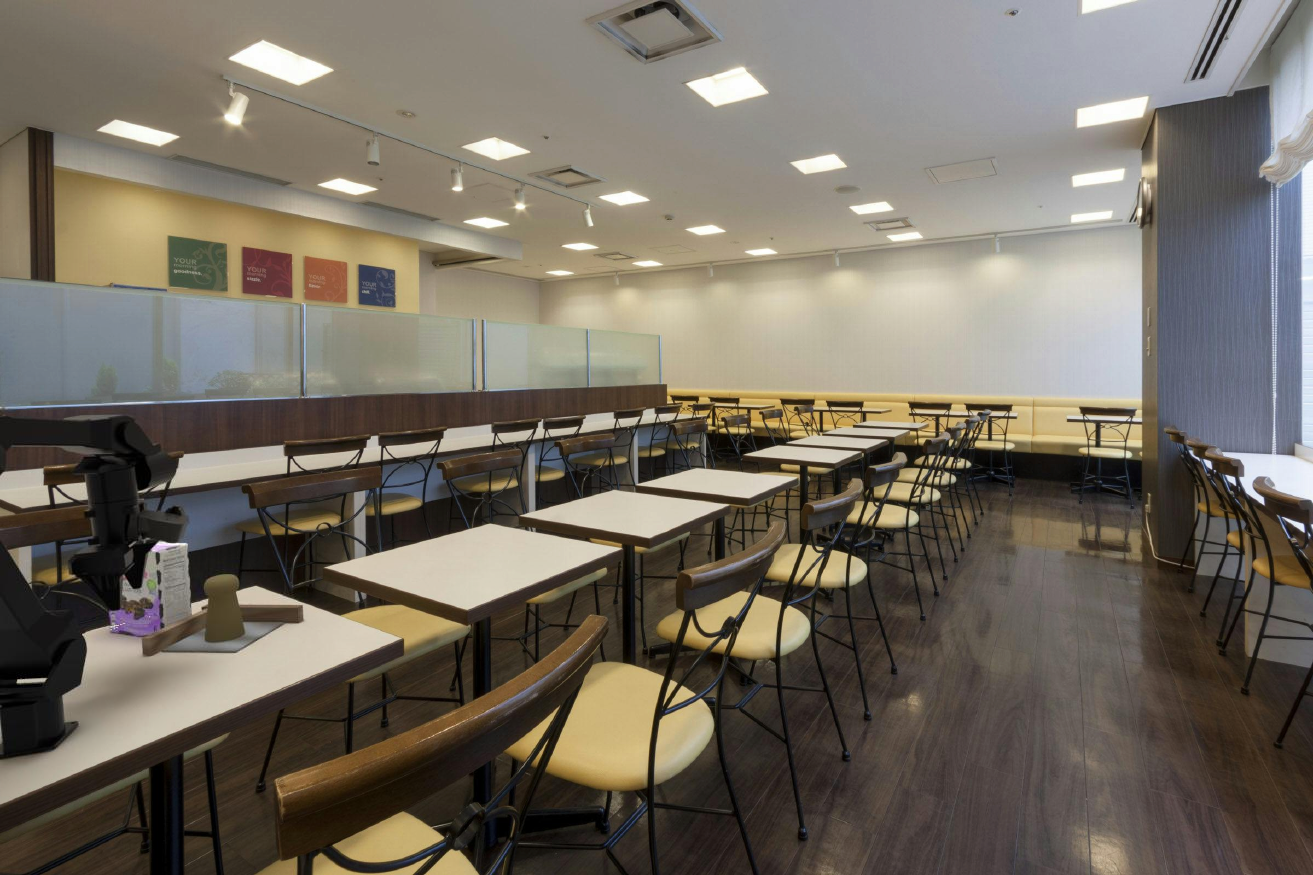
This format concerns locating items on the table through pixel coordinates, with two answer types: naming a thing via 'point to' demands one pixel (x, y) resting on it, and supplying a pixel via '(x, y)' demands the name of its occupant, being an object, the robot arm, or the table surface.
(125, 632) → the candy box
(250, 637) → the wood edged grey tray
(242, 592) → the table surface
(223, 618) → the cork
